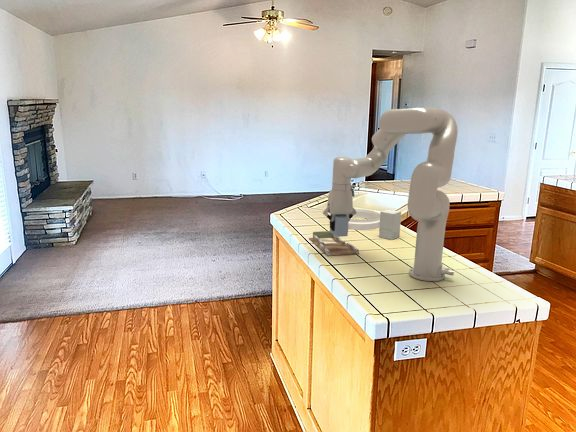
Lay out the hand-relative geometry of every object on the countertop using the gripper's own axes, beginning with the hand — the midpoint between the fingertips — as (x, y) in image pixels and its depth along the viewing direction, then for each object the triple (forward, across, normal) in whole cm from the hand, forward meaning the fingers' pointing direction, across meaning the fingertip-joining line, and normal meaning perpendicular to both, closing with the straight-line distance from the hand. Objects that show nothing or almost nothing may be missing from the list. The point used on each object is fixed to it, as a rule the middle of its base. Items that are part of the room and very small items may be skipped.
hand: (338, 229), depth 192 cm
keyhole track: (+10, 0, -7) cm, 12 cm away
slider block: (+2, 0, 0) cm, 2 cm away
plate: (+10, -26, -43) cm, 52 cm away
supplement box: (+10, -32, -15) cm, 37 cm away
